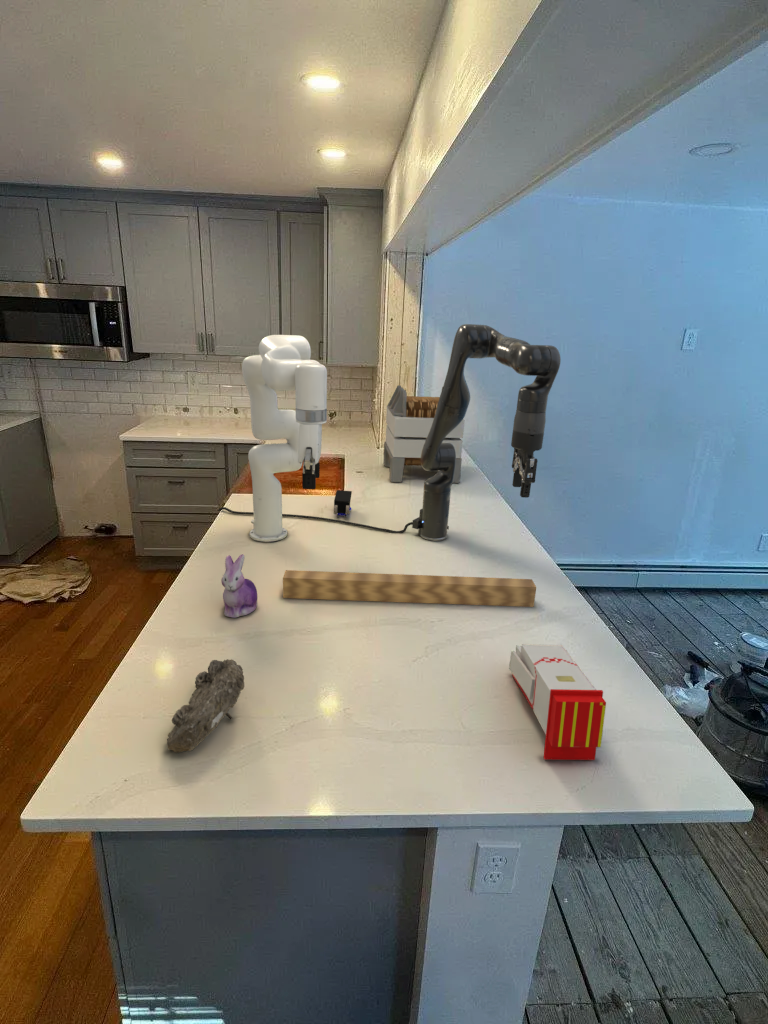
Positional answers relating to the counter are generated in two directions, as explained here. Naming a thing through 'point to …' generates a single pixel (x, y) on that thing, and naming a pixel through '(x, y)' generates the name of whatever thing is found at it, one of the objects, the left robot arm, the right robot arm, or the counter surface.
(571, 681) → the toy
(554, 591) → the counter surface
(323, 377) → the left robot arm
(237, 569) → the figurine
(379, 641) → the counter surface
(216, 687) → the fossil
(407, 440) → the grey box with legs
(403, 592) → the beam
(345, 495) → the figurine character
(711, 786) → the counter surface
